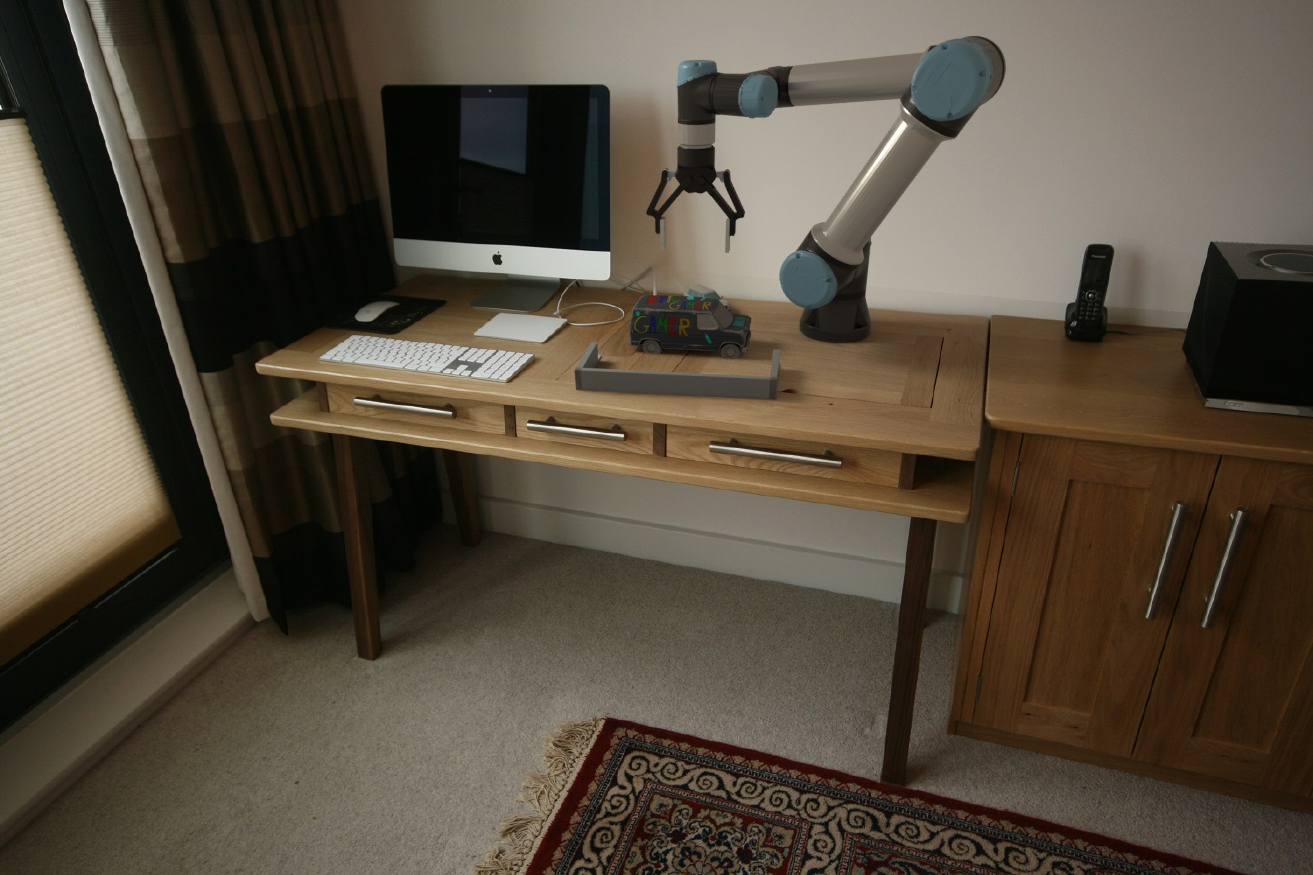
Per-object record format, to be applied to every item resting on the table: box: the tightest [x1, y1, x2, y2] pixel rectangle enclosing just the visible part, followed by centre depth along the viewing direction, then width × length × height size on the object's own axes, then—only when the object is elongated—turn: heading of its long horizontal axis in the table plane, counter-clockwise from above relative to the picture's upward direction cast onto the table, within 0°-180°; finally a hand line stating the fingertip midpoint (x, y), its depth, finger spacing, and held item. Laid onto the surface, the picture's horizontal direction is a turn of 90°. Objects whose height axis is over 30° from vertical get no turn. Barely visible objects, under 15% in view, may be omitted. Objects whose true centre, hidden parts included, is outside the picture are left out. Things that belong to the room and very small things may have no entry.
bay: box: [574, 341, 780, 401], centre depth 167 cm, size 37×17×4 cm, turn 81°
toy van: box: [627, 294, 752, 360], centre depth 179 cm, size 11×25×10 cm, turn 78°
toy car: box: [683, 283, 732, 313], centre depth 200 cm, size 6×13×5 cm, turn 33°
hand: (695, 250), depth 182 cm, fingers open, 13 cm apart
